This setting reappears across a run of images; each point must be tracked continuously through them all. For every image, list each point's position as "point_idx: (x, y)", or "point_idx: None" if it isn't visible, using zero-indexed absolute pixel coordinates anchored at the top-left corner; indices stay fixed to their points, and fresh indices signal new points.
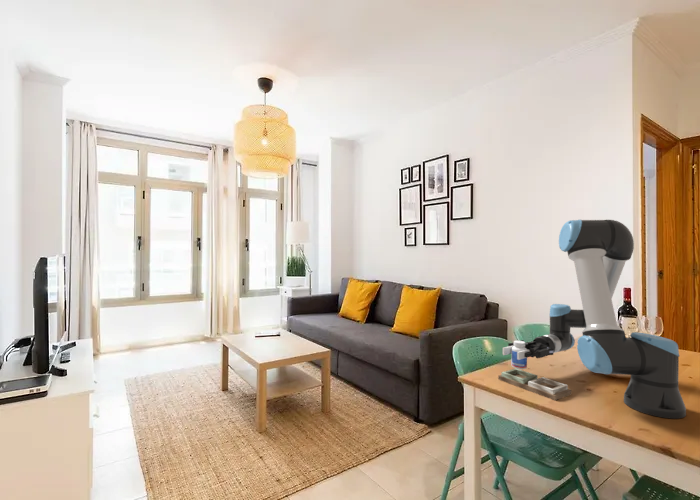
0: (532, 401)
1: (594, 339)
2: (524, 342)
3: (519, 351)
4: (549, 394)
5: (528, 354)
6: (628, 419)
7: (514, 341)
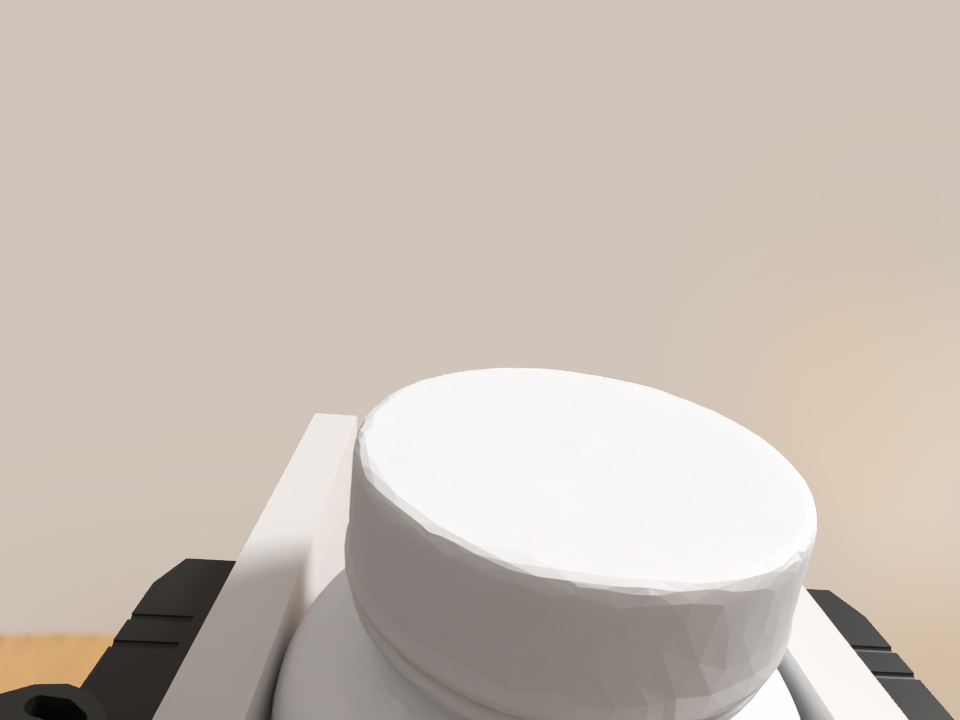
0: (68, 642)
1: None
2: (404, 483)
3: (341, 449)
4: None
5: (151, 615)
6: None
7: (680, 405)
